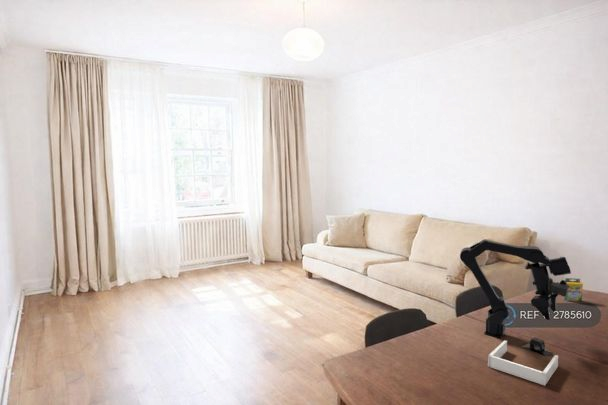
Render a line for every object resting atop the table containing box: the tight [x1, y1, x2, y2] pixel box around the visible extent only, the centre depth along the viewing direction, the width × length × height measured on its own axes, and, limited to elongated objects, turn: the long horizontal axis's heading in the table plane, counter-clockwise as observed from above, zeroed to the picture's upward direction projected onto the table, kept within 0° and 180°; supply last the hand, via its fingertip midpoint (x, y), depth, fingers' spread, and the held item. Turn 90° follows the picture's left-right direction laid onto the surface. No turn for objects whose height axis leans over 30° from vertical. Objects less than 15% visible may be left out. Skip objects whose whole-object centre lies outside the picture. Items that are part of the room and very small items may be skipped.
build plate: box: [521, 337, 554, 357], centre depth 153 cm, size 12×7×5 cm, turn 31°
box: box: [487, 339, 559, 387], centre depth 141 cm, size 18×17×4 cm
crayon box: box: [563, 277, 584, 303], centre depth 207 cm, size 7×3×12 cm, turn 81°
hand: (551, 315), depth 159 cm, fingers open, 9 cm apart
